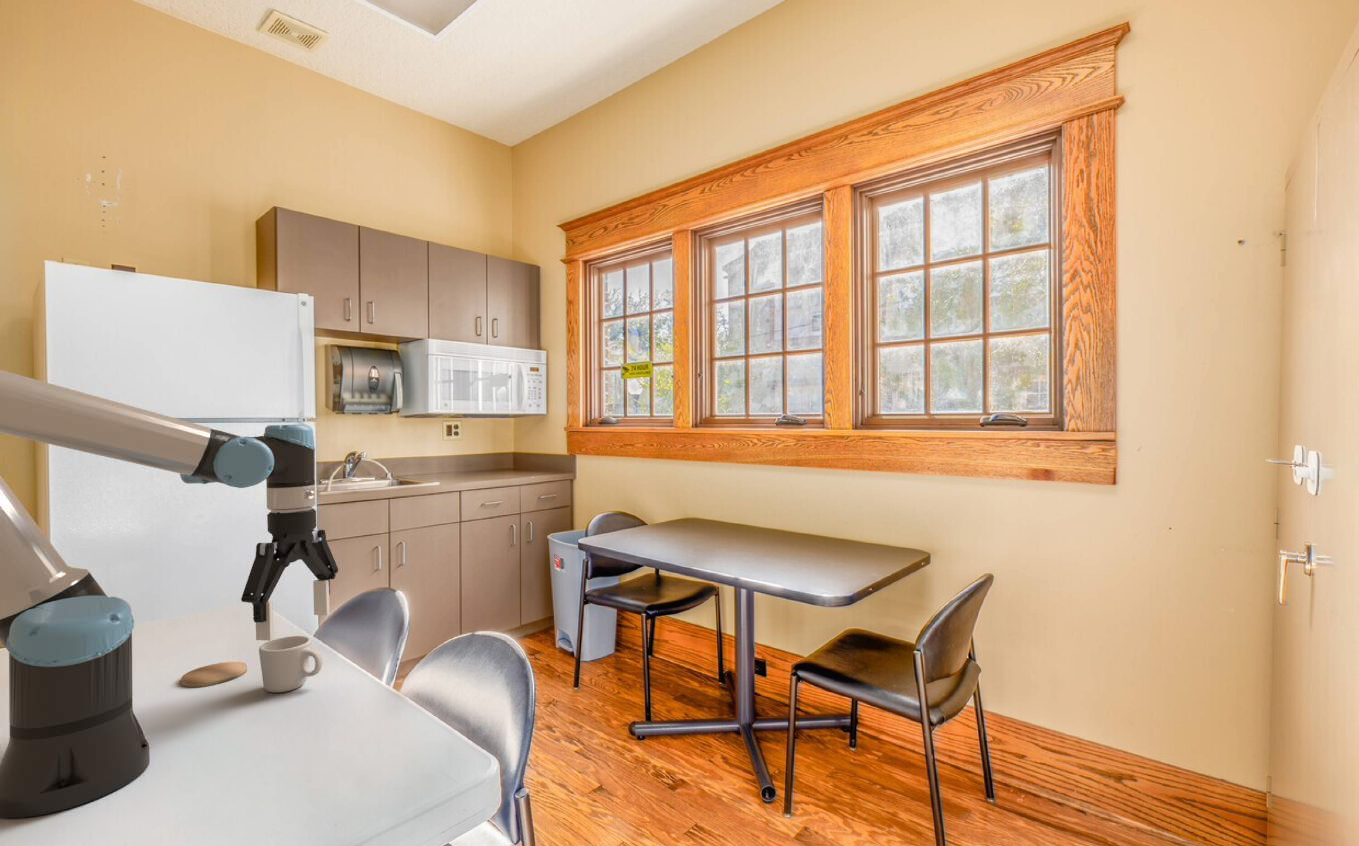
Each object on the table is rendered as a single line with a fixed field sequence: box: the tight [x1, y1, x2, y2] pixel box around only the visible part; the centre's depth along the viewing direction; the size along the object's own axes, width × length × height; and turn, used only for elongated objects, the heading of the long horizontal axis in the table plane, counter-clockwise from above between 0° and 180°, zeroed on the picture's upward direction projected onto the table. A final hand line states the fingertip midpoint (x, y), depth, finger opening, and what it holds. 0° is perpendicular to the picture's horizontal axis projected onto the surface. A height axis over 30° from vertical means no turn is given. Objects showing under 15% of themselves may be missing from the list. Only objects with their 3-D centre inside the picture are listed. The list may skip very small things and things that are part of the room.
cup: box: [258, 635, 323, 693], centre depth 112 cm, size 11×8×8 cm
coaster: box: [180, 661, 248, 688], centre depth 117 cm, size 10×10×1 cm
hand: (295, 626), depth 112 cm, fingers open, 13 cm apart
